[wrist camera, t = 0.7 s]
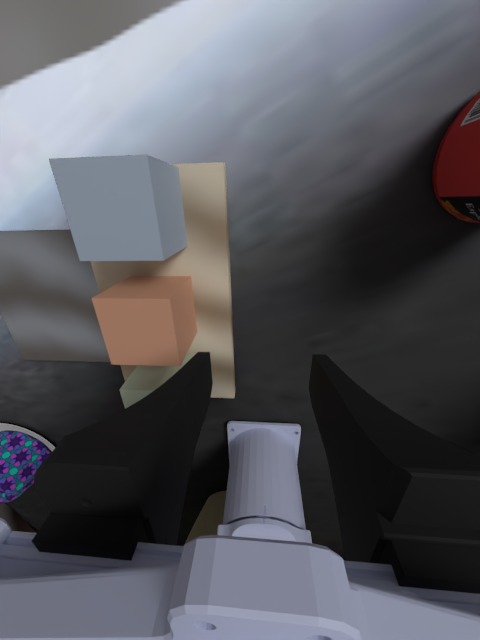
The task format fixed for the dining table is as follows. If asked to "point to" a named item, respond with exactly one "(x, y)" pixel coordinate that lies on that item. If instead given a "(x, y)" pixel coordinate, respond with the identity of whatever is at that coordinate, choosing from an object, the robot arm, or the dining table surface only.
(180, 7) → the dining table surface
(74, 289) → the board
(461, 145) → the canned food
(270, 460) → the robot arm
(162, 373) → the sage block
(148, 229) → the blue block
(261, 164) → the dining table surface
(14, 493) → the patterned fedora hat
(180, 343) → the terracotta block
